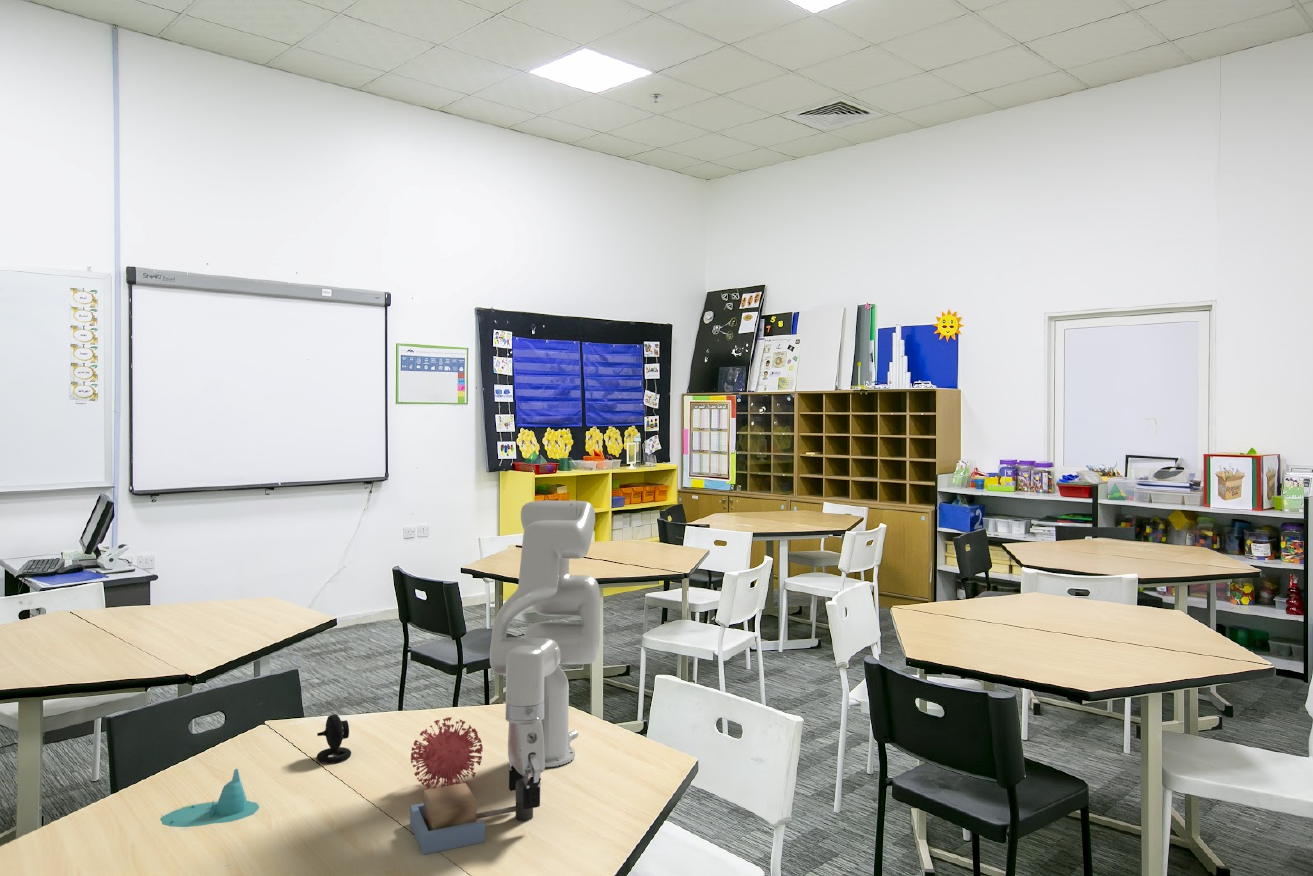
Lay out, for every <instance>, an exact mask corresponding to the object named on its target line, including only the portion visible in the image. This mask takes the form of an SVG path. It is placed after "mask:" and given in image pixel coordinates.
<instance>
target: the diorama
mask: <svg viewBox="0 0 1313 876" xmlns="http://www.w3.org/2000/svg"><path fill="white" fill-rule="evenodd" d="M232 774H233V775H232V780H230V781H229V782H227V783H226V784H225V785H224V786H223V788H222V789H221V790H222V791H221V793H220V795H219V798H218V801H211V802H204V803H198V804H192V805H188V806H183V807H181V808H179V809H175V810H173V811H171V812H169V813H166V814H165V813H164V814H163V815H161V817H160V819H159V821H160V822H161V824H162V826H168V827H170V828H171V827H174V828H186V827H187V828H188V827H201V826H202V827H203V826H207V825H213V824H223V823H230V822H235V821H238V820H242V819H246V818H247V817H250V816H253V815H255V814H256V812H257V811H258V810H259V808H260V805H259V804H258V803H257V802H254V801H250V800H247V796H246V794H245V793H246V791H245V790H244V786H243V782H242V780H241V775H240V771H239V768H235V769H234V770H233V773H232Z"/></svg>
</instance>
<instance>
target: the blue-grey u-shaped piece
mask: <svg viewBox="0 0 1313 876" xmlns="http://www.w3.org/2000/svg"><path fill="white" fill-rule="evenodd" d="M409 809H410V810H409V811H410V812H409V813H410V814H409V815H410V816H409V817H410V819H409V821H410V822H409V823H410V827H411V829H412V832H413V834H414V836H415V839H416V842H417V844H418V846H419V849H420V851H421V854H422V855H423V856H424V855H428V854H433V853H438V852H443V851H449V850H453V849H457V848H461V847H467V846H473V845H476V844H482V843H485V842H486V841H485V839H486V838H485V837H486V836H485V835H486V833H485V832H486V831H485V829H486V828H485V827H486V823H485V821H484V820H478V821H477V820H476V822H472V823H467V824H462V825H457V826H452V827H447V828H442V829H437V830H431V831H428V829H427V826H426V824H425V822H424V802H422V803H421V802H420V803H418V804H417V803H416V804H411V805H410V807H409Z"/></svg>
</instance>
